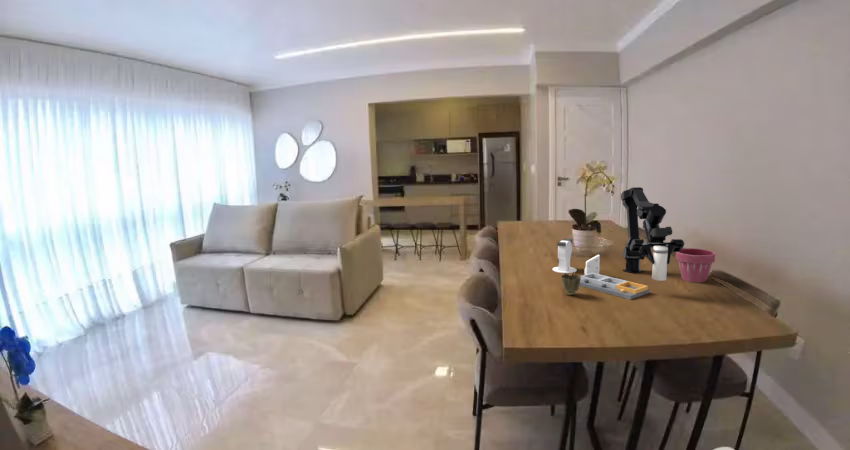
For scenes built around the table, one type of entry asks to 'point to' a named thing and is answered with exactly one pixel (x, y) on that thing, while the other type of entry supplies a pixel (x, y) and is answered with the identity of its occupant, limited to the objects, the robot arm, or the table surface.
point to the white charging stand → (564, 257)
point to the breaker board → (613, 286)
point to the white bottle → (659, 263)
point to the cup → (570, 283)
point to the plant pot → (695, 264)
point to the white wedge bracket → (592, 265)
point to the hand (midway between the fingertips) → (661, 263)
